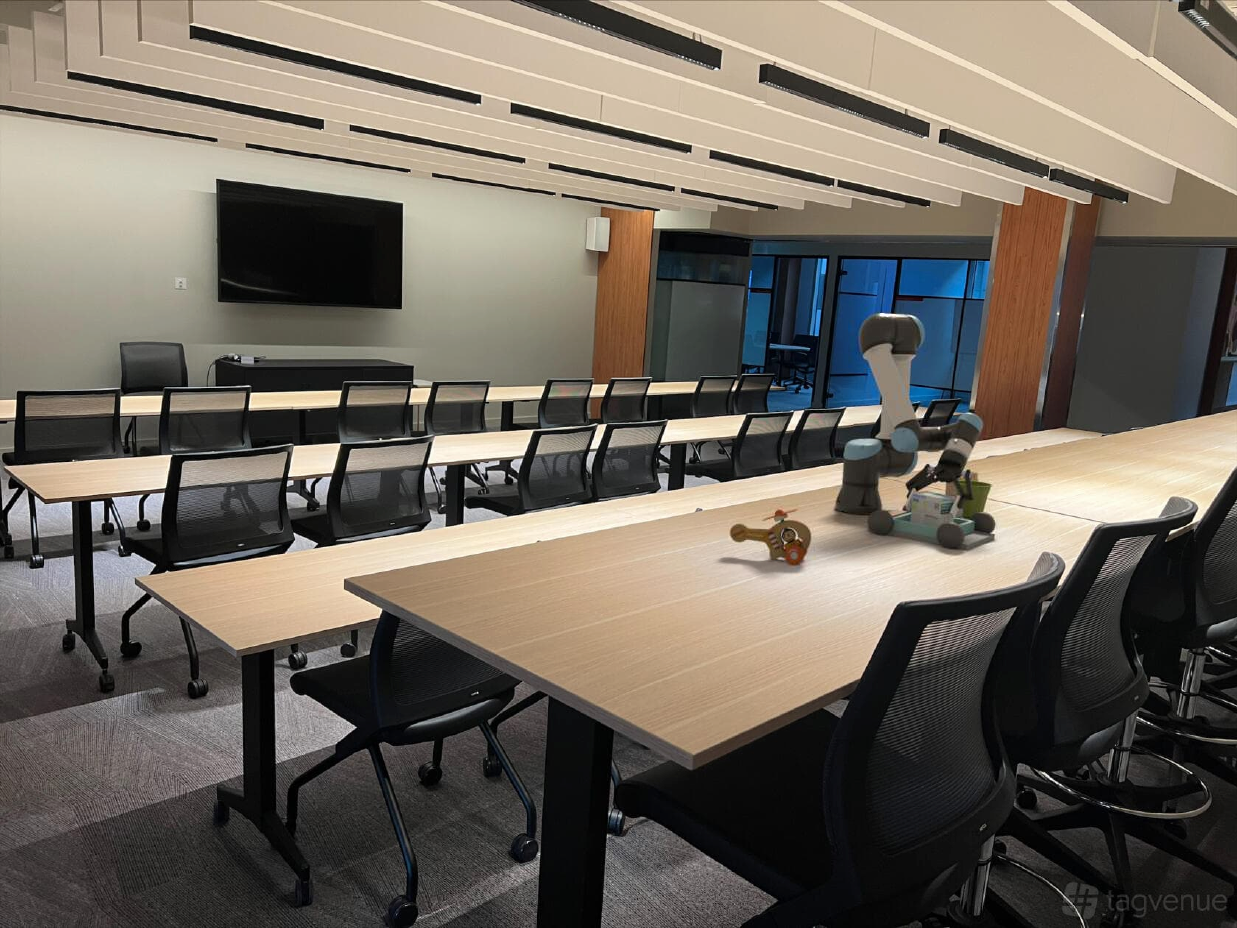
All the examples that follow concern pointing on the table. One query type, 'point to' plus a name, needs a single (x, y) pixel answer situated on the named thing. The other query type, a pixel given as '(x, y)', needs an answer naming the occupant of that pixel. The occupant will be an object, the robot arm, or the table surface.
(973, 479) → the toy train
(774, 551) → the toy helicopter
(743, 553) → the table surface
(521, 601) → the table surface
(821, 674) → the table surface
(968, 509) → the plant pot
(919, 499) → the light bulb box
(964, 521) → the chassis
